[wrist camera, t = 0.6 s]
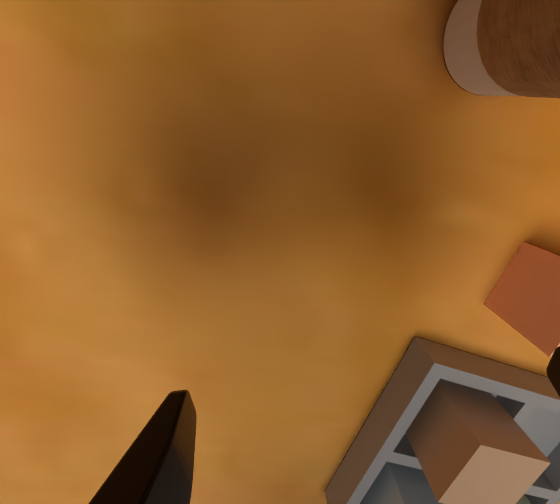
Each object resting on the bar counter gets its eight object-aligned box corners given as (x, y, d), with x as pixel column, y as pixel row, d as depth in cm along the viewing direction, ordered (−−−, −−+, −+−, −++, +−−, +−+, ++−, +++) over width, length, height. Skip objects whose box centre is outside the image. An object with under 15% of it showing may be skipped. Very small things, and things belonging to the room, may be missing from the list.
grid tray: (484, 523, 33) (539, 622, 27) (325, 490, 30) (342, 590, 24) (595, 392, 28) (697, 473, 21) (415, 336, 25) (469, 411, 19)
